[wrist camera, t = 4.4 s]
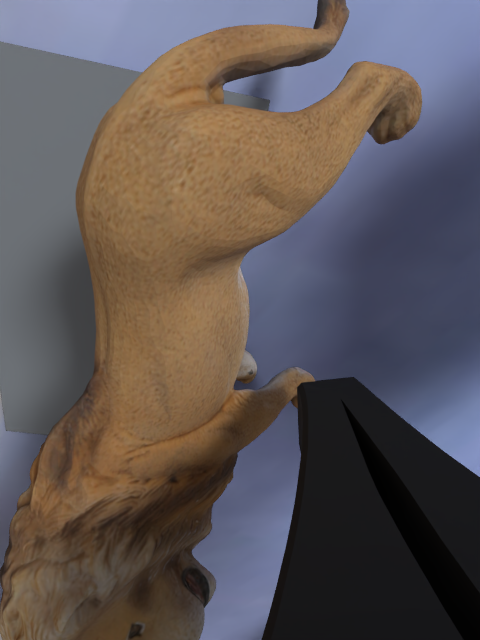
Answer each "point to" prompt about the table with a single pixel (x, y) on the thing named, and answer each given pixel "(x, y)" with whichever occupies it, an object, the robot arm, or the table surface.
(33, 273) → the rubber mat
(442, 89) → the table surface
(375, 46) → the table surface
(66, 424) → the lion figurine
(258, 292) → the table surface
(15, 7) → the table surface
